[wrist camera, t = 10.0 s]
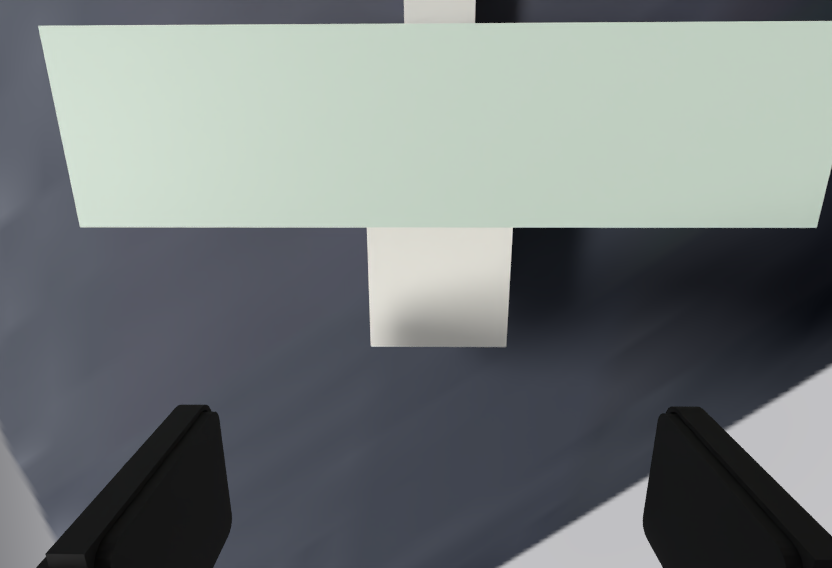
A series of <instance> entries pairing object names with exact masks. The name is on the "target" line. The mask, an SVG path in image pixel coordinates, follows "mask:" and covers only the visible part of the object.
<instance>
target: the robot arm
mask: <svg viewBox="0 0 832 568" xmlns="http://www.w3.org/2000/svg"><path fill="white" fill-rule="evenodd" d="M231 523H232V513H231V505H230V498H229V490H228V482H227V475H226V467H225V459H224V452H223V444H222V436H221V429H220V421H219V416H218V414H217V412H211V409H210V408H209V406H208V405H178V406H177V407H176V408H175V409H174V410H173V411H172V412H171V414H170V415H169V416H168V417H167V418H166V419H165V420H164V421H163V423H162V424H161V425H160V426H159V427H158V428H157V429H156V430H155V432H154V433H153V434H152V435H151V436H150V437H149V438H148V439H147V441H146V442H145V443H144V444H143V445H142V446H141V447H140V448H139V449H138V451H137V452H136V453H135V454H134V455H133V456H132V457H131V458H130V460H129V461H128V462H127V463H126V464H125V465H124V466H123V467H122V469H121V470H120V471H119V472H118V473H117V474H116V475H115V476H114V478H113V479H112V480H111V481H110V482H109V483H108V484H107V485H106V487H105V488H104V489H103V490H102V491H101V492H100V493H99V494H98V495H97V497H96V498H95V499H94V500H93V501H92V502H91V503H90V504H89V506H88V507H87V508H86V509H85V510H84V511H83V512H82V513H81V515H80V516H79V517H78V518H77V519H76V520H75V521H74V522H73V524H72V525H71V526H70V527H69V528H68V529H67V530H66V531H65V533H64V534H63V535H62V536H61V537H60V538H59V539H58V540H57V542H56V543H55V544H54V545H53V546H52V547H51V548H50V549H49V551H48V552H47V553H46V557H45V559H44V560H43V561H42V562H41V563H40V564H39V565H38V566H37V568H213V567H214V564H215V562H216V560H217V558H218V556H219V554H220V552H221V550H222V548H223V546H224V544H225V542H226V539H227V537H228V535H229V533H230V529H231ZM643 527H644V532H645V535H646V537H647V539H648V541H649V543H650V545H651V547H652V549H653V550H654V552H655V554H656V556H657V558H658V559H659V561H660V563H661V565H662V567H663V568H832V536H831V535H830V534H829V533H828V532H827V531H826V530H825V529H824V528H823V527H822V526H821V525H820V524H819V523H818V522H817V521H816V520H815V519H814V518H813V517H812V516H810V514H809V513H808V512H807V511H806V510H805V509H804V508H802V506H800V505H799V504H798V503H797V502H796V501H795V500H794V499H793V498H792V497H791V496H790V495H789V494H788V493H787V492H786V491H785V490H784V489H783V488H782V487H781V486H780V485H779V484H778V483H777V482H776V481H775V480H774V479H773V478H772V477H771V476H770V475H769V474H768V473H767V472H766V471H765V470H764V469H763V468H762V467H761V466H760V465H759V464H758V463H757V462H756V461H755V460H754V459H753V458H752V457H751V456H750V455H749V454H748V453H747V452H746V451H745V450H744V449H743V448H742V447H741V446H740V445H739V444H738V443H737V442H736V441H735V440H734V439H733V438H732V437H730V435H729V434H728V433H727V432H726V431H725V430H724V429H723V428H722V427H721V426H720V425H719V424H718V423H717V422H716V421H715V420H713V419H712V418H711V417H710V416H709V415H708V414H707V413H706V412H705V411H704V410H703V409H702V408H700V407H670V408H668V410H667V411H666V414H661V415H660V416H659V418H658V423H657V429H656V436H655V442H654V449H653V455H652V462H651V468H650V475H649V481H648V488H647V494H646V502H645V507H644V514H643Z"/></svg>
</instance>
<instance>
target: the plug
mask: <svg viewBox="0 0 832 568" xmlns="http://www.w3.org/2000/svg"><path fill="white" fill-rule="evenodd" d="M475 4H476V0H404V24H428V23H475ZM512 234H513V228H444V227H367V244H368V274H369V304H370V334H371V347H506V341H507V323H508V306H509V288H510V270H511V252H512Z"/></svg>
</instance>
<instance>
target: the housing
mask: <svg viewBox="0 0 832 568" xmlns="http://www.w3.org/2000/svg"><path fill="white" fill-rule="evenodd" d="M38 28H39V32H40V37H41V42H42V47H43V52H44V56H45V61H46V66H47V71H48V75H49V80H50V85H51V90H52V95H53V99H54V104H55V109H56V114H57V119H58V123H59V128H60V133H61V138H62V143H63V147H64V152H65V157H66V162H67V167H68V171H69V176H70V181H71V186H72V191H73V195H74V200H75V205H76V210H77V215H78V219H79V224H80V227H444V228H817V224H818V220H819V216H820V212H821V208H822V204H823V200H824V196H825V191H826V187H827V183H828V179H829V175H830V171H831V167H832V21H759V22H593V23H428V24H263V25H98V26H38Z"/></svg>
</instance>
